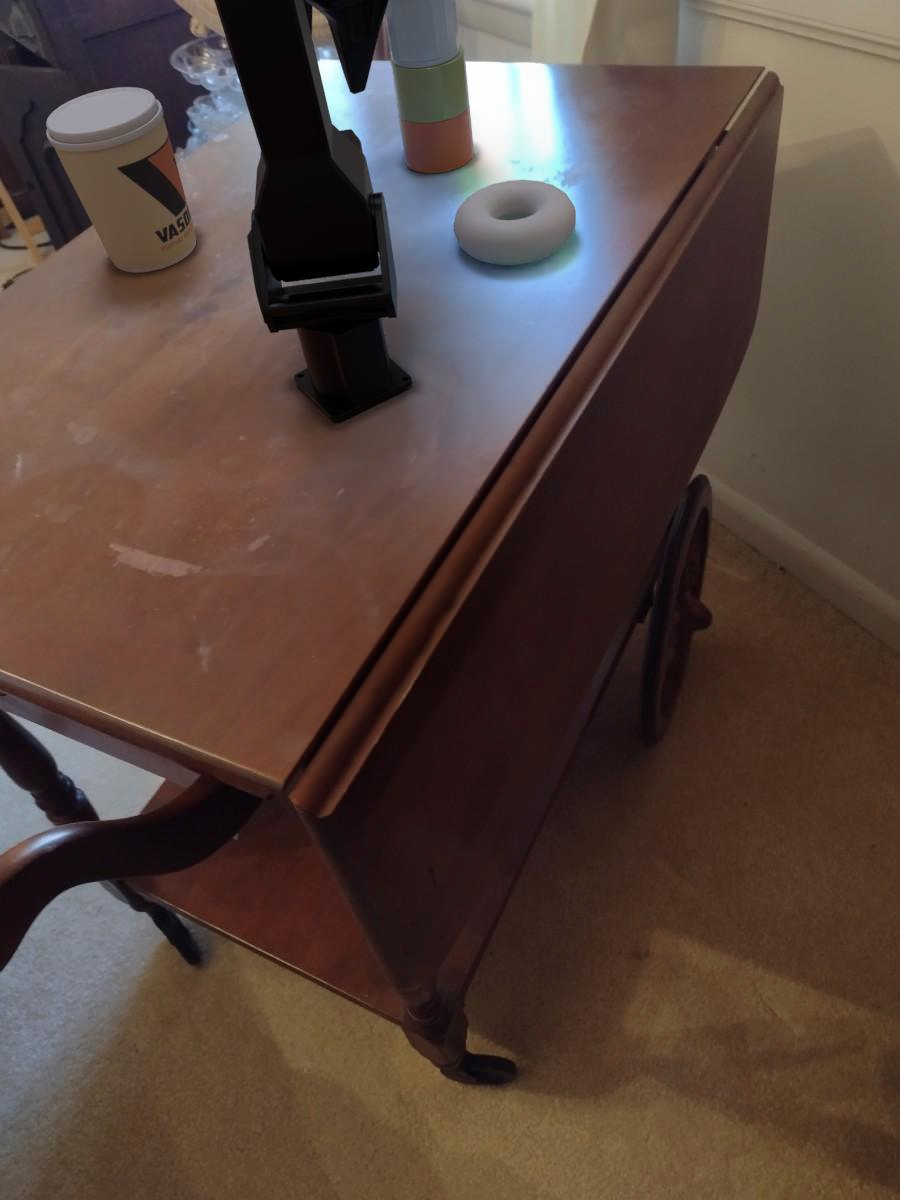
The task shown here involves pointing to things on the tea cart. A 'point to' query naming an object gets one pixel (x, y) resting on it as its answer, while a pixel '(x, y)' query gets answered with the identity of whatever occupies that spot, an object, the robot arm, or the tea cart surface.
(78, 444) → the tea cart surface
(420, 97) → the cup stack
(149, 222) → the coffee cup
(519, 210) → the donut
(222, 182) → the tea cart surface
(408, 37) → the blue cup
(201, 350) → the tea cart surface
